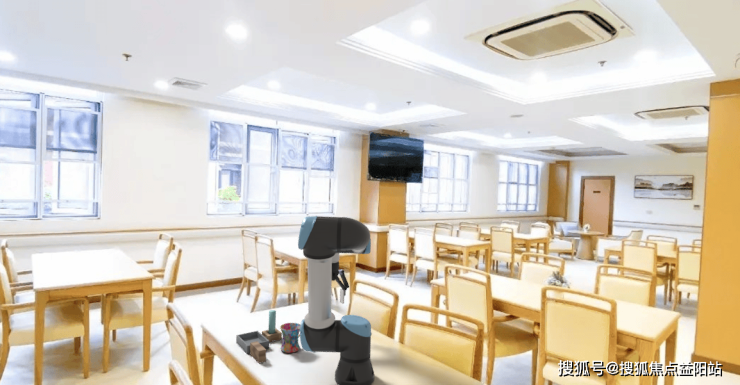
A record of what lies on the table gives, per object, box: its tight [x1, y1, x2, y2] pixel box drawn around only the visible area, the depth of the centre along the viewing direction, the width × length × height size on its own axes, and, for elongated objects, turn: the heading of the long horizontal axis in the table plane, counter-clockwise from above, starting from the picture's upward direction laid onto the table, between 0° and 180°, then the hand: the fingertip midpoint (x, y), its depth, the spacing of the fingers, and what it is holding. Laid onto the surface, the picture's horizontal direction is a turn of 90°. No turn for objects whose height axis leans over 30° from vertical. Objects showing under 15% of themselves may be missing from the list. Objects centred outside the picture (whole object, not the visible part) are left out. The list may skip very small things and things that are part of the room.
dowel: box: [267, 310, 277, 334], centre depth 182 cm, size 3×3×13 cm
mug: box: [279, 322, 301, 354], centre depth 172 cm, size 12×9×11 cm
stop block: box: [249, 341, 267, 364], centre depth 162 cm, size 10×3×5 cm, turn 37°
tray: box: [235, 330, 270, 355], centre depth 174 cm, size 14×10×4 cm
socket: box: [261, 327, 283, 343], centre depth 182 cm, size 7×7×3 cm
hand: (329, 305), depth 183 cm, fingers open, 13 cm apart
